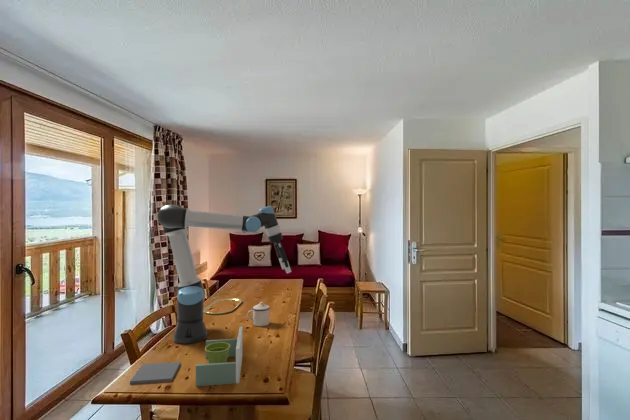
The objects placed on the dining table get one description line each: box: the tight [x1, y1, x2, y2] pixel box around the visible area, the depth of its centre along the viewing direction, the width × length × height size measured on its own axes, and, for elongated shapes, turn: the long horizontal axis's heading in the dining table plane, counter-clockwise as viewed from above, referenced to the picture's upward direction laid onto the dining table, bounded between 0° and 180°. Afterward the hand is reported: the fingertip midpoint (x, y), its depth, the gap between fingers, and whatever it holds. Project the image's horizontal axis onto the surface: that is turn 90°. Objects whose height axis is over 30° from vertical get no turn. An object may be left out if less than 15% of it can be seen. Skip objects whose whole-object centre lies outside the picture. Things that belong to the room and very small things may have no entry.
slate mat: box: [129, 361, 181, 385], centre depth 131 cm, size 14×14×1 cm
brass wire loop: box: [203, 297, 243, 316], centre depth 223 cm, size 19×35×2 cm, turn 176°
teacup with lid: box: [247, 301, 271, 327], centre depth 189 cm, size 12×9×12 cm
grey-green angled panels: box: [195, 326, 244, 387], centre depth 135 cm, size 15×24×12 cm, turn 9°
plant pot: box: [204, 342, 230, 364], centre depth 135 cm, size 9×9×9 cm
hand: (286, 270), depth 193 cm, fingers open, 13 cm apart
